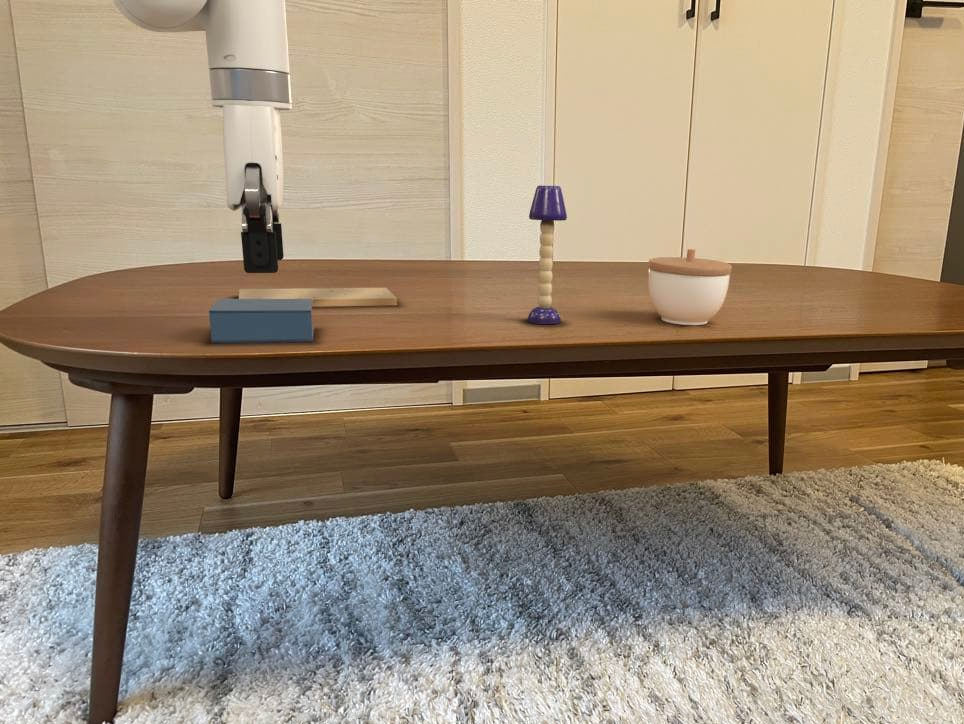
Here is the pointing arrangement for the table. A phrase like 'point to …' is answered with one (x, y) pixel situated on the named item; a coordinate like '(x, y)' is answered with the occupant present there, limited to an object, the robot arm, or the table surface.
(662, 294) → the trinket box
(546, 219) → the toy lamp
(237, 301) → the blue rectangular block
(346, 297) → the birch board
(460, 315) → the table surface
